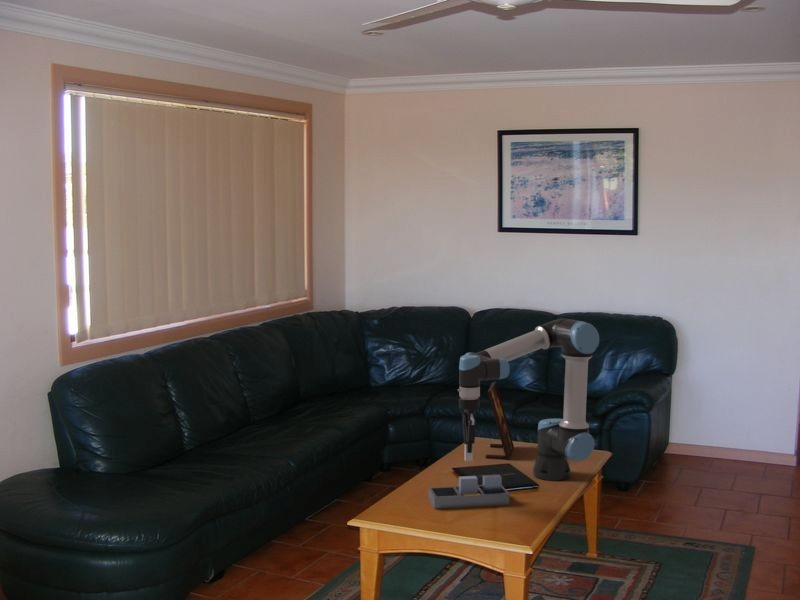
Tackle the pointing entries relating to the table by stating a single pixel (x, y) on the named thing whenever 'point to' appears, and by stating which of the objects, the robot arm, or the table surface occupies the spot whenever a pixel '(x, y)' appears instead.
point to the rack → (471, 495)
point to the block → (468, 485)
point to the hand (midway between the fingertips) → (468, 460)
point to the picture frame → (500, 424)
